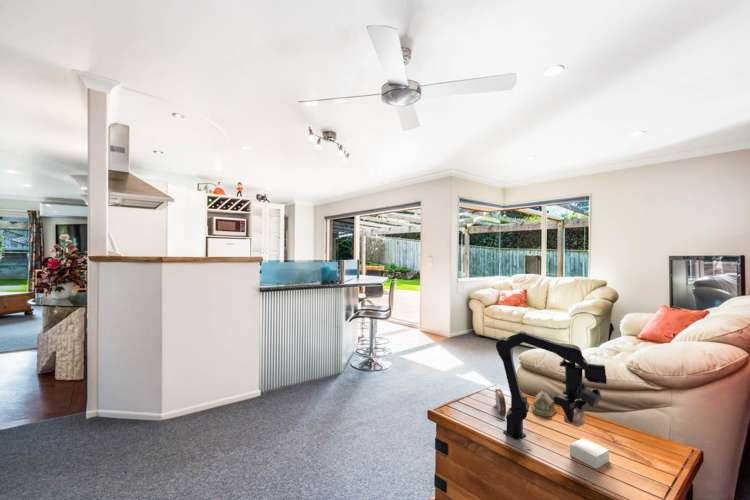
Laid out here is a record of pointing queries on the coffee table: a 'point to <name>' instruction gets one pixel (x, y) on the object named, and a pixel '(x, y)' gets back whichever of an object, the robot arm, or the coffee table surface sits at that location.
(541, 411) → the ceramic model
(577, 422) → the terracotta cube
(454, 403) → the coffee table surface
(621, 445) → the coffee table surface
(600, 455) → the base block
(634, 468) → the coffee table surface
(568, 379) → the robot arm
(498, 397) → the mottled stone slab
